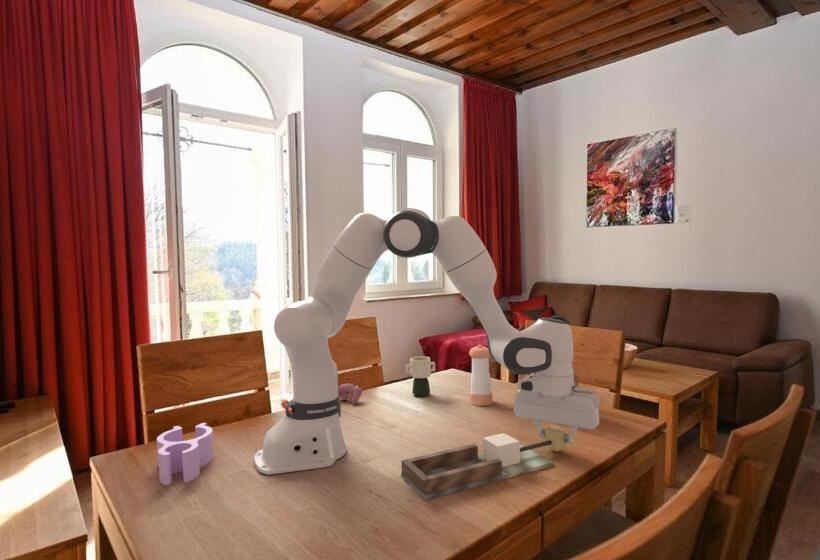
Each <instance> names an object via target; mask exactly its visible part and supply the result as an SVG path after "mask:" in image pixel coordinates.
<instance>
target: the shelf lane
mask: <svg viewBox="0 0 820 560" xmlns="http://www.w3.org/2000/svg"><path fill="white" fill-rule="evenodd" d="M524 446H525V445H523V444H521V443H520V447H524ZM478 447H479V446H478V445H477V444H475V443H473V444H468V445H465V446H464V445H463V446H460V447H455V448H451V449H447V450H442V451H436V452H432V453H428V454H424V455H421V456H419V455H418V456H416V457H411V458H407V459H402V460H401V461H400V462H401V472H400V478H402V479H403V480H404V481H405V482H406V483H407V484H408V485H409V486H410V488H412V489H414V491H415V492H416V493H418V495H420V497H421V498H422V499H424V500H425V501H428V500H431V499H435V498H439V497H443V496H446V495H449V494H454V493H457V492H462V491H464V490H467V489H472V488H475V487H479V486H483V485H487V484H490V483H494V482H497V481H501V480H505V479H509V478H512V477H515V476H520V475H524V474H527V473H531V472H534V471H539V470H542V469H546V468H549V467H553V466H555V462H554V461H553V460H551V459H549V458H547V457H545V456H543V455H542V454H540V453H538V452H536V451H534V450H533V449H531V450H527V451H523V452H520V463H518V464H514V465H510V466H506V467H502V461H501V460H499V459H494V460H490V461H486V460H484V459H483V452H482V453H479V448H478Z"/></svg>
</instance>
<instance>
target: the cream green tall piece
mask: <svg viewBox="0 0 820 560" xmlns="http://www.w3.org/2000/svg"><path fill="white" fill-rule="evenodd" d="M409 369H410V370H409ZM435 371H436V362H435V361H431V357H430V356H425V355H424V356H421V355H420V356H419V355H418V356H413V357H411V358H409V364H405V374H406V375H410V376H411V378H413V380H412V382H413V383H412V392H411V393H412V394H413V395H415V396H420V397H421V396H422V397H424V396H428V395H430V394H431V388H430V387H431V386H430V383H429V379H428V378H429V377H431V374H432V372H435Z"/></svg>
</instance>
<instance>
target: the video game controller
mask: <svg viewBox="0 0 820 560" xmlns="http://www.w3.org/2000/svg"><path fill="white" fill-rule="evenodd" d="M349 393H351V394H349ZM362 394H363V389H362V388H361V387H359V385H356V384H355V383H354V384H353V383H343V384H340V385H338V395H339V396H340V397H341V400H343V401H347V400H349V401H350V402H351V404H352V405H353V406H355V405H356V404H357V403H358V402H359V400H360V397H361V396H362ZM354 404H355V405H354Z"/></svg>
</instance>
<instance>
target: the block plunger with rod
mask: <svg viewBox="0 0 820 560" xmlns="http://www.w3.org/2000/svg"><path fill="white" fill-rule="evenodd" d="M544 429H545V438H544V441H541V442H536V443H533V444H529V445H528V444H527V445H523V446H524V447H520V444H521V443H520V442H521V441H520V440H518V439H517V438H514V437H512V436H511V435H509V434H507V433H505V432H503V433H499V434H493V435H488V436H485V437H482V453H483V459H484V460H486V461H490V460H494V459H499V460H501V461H502V467H506V466H510V465H514V464H518V463H520V452H523V451H527V450H534V449H539V448H541V447H547V448H549V449H550V450H553V451H555V452H559V451H563V450H566V447H567V443H565V435H566V434H567V432H566V430H564V429H562V428H560V427H558V426H555V425H552V426H548V427H544Z"/></svg>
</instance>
